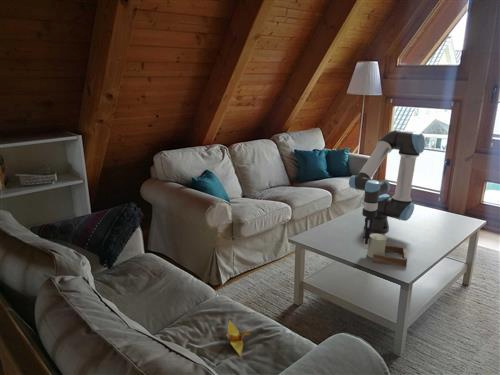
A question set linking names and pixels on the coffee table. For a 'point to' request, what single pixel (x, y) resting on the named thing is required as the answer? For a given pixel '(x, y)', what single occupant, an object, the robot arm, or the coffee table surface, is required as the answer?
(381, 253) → the can
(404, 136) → the robot arm
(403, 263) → the bay
